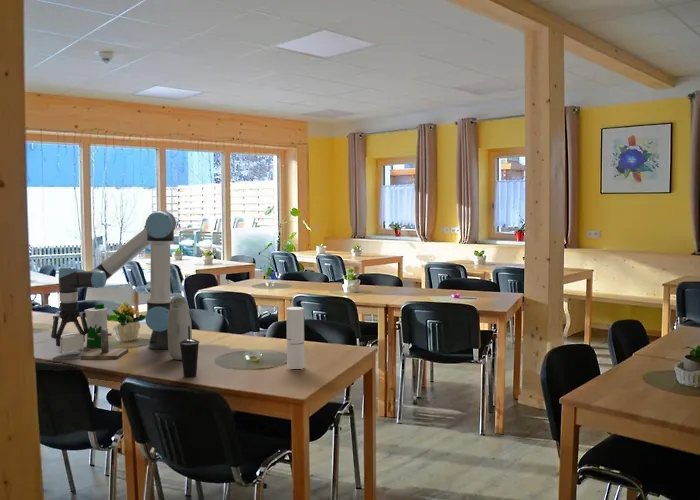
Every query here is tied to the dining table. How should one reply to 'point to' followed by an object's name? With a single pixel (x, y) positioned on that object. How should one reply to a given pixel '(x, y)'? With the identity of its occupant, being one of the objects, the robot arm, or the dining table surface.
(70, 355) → the mat
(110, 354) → the post stand
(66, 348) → the white drawer box
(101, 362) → the dining table surface
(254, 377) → the dining table surface
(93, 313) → the milk carton
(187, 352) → the drinking cup
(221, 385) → the dining table surface
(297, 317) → the cylindrical container
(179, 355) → the grey bottle
